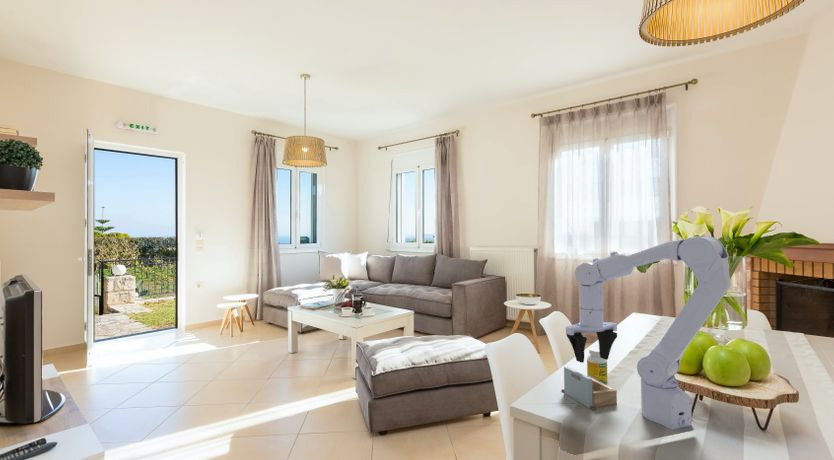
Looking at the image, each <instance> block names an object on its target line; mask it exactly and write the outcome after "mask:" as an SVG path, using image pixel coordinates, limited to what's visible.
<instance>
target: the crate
mask: <svg viewBox="0 0 834 460" xmlns="http://www.w3.org/2000/svg"><path fill="white" fill-rule="evenodd" d="M586 376H587V375H586ZM587 377H589V376H587ZM589 378H591V377H589ZM591 379H592V406H591V407H590V408H589V410H592V411H596V410H597V409H599V408H604V407H610V406H614V405H615V406H616V405H618V402H617V401H618V400H617V399H618V398H617V396H618V395H617V394H618V393H617V392H618V391H617V389H615V388H613V387H611V386H609V385H607V384H605V383H601V382H599V381H597V380H595V379H593V378H591ZM560 392H562V393H563V394H565V393H564V389H561V391H560Z"/></svg>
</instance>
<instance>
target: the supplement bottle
mask: <svg viewBox="0 0 834 460" xmlns="http://www.w3.org/2000/svg"><path fill="white" fill-rule="evenodd" d="M588 350H589V352H588V353H589V355H587V358H586V369H587V370H586V373H587V375H586V376H589V377H591V378H593V379H595V380H597V381H599V382H601V383H603V384H605V383H607V382H608V360H605V359H603V358H601V357H600V353H599V347H590V348H588Z"/></svg>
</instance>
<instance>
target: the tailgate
mask: <svg viewBox="0 0 834 460" xmlns="http://www.w3.org/2000/svg"><path fill="white" fill-rule="evenodd" d="M563 382H564V383H563V384H564V385H563V387H564V393H563V394H565V395H567V396H568V397H570V398H572V399H573V400H575V401H577V402H578V403H580V404H582V405H584V406H585V407H587V408H589V409H590V407H591V406H592V379H591V378H589V377H587V375H585V374H583V373H582V372H579V371H577V370H575V369H573V368H571V367H569V366H563Z"/></svg>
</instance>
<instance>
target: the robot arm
mask: <svg viewBox="0 0 834 460" xmlns="http://www.w3.org/2000/svg"><path fill="white" fill-rule="evenodd" d="M729 256H730V255H729V253H728V251H727V249H726V248H725V246H724V244H723V242H721V241H720V240H719V239H718V238H716V237H714V236H709V235H707V236H706V235H705V236H691V237H688V238H684V239H677V240H676V239H675V240H672V241H667V242H663V243H661V244H658V245H654V246H652V247H650V248H649V247H648V248H646V249H644V250H640V251H637V252H634V253H631V254H626V253H624V252H621V251H620V252H618V251H613V252H610V253H609V255H608V256H605V257H601V258H594V259H592V262H583V263H581V264H579V265H578V266H577V267H576V268H575V271H574V277H575V280H576V281H577V282H578V294H579V295H578V299H579V300H578V301H579V303H578V305H579V322H578V323H576V324H571V325H566V326H565V334H566V337H567V339H568V341H569V343H570V345H571V347H572V350H573V353H574V356H575V361H577V362H579V363H584V362H585V347H586V343H587V340H588V338H587V337H586V336H583V334H589V333H590V334H591V333H596V335H597V340H598V348H599V353H600V357H601V358H603V359H605V360H607V361H608V360H609V356H610V353H611V349H612V346H613V344H614V342H615V341H616V339H617V338H618V333H617V331H618V330H617V329H618V323H615V322H612V321H608V322H607V321H606V322H605V321H604V291H603V289H604V288H603V284H604V282H607V281H611V280H614V279H618V278H621V277H624V276H629V275H631V274H632V273H633V271H634V269H635V268H637V267H641V266H644V265H648V264H651V263H656V262H659V261H663V260H667V259H668V260H671V261H675V262H678V261H679V262H680V261H682V262H683V263H684V264H685V265H686V266H687V267H688V268H689V269H690V270H691V271H692V272H693V275H694V277H695V279H696V282H697V285H696V288H695V289H694V290H693V292H692V293H691V295H690V296H689V298H688V299H687V301H686V302H685V303H684V305H683V307H682V308H681V310H680V311H679V313H678V314H677V316H676V317H675V319H674V320H673V321H672V323H671V325H670V326H669V328H668V329H667V331H666V332H665V334H664V335H663V337H662V338H661V339H660V341H659V342H658V343H657V344H656V345H655V346H654V348H653V349H652V350H651V351H650V353H648V355H646V356H644V357H642V358H640V359H639V360H638V361H637V364H636V371H637V374H638V376H639V377H640V394H641V395H640V396H641V397H640V399H641V401H640V402H641V403H640V404H641V406H640V407H641V415H642V416H643V417H644V418H645V419H647V420H649V421H651V422H655V423H657V424H659V425H661V426H664V427H665V428H666V429H669V430H677V429H682V428H687V427H692V425H693V424H692V421H693V420H692V418H693V417H692V416H693V415H692V413H693V412H692V399H691V397H690V395H689V393H687V391H684V390H682V389H681V388H680V386H679V385H678V380H677V378H676V375H677V374H678V372H679V371H680V368H681V360H682V358H683V357H684V355H685V351H686V350H687V349H688V347H689V346H690V345H691V343H692V341H693V340H694V339H695V337H696V335H697V334H698V333H699V331H700V330H701V329H702V327H703V326H704V324H705V323H706V321H708V319H709V317H710V316H711V314H712V313H713V311H714V310H715V309H716V307H717V306H718V305H719V303H720V302H721V300H722V299H723V298H724V296H725V295H726V294H727V292H728V290H729V289H730V286H731V277H730V276H731V275H730V268H729V258H730V257H729Z"/></svg>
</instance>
